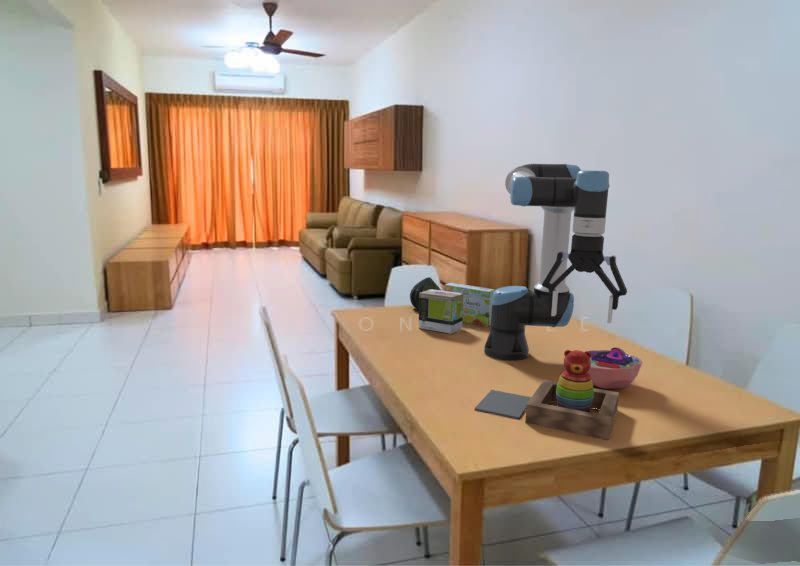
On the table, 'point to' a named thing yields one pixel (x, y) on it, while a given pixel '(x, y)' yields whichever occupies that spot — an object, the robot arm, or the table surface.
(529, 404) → the square wooden frame
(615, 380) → the cell model
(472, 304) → the snack box
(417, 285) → the squash
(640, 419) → the table surface
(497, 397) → the rubber mat
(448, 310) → the tea box
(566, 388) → the stacking bear
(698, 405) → the table surface
